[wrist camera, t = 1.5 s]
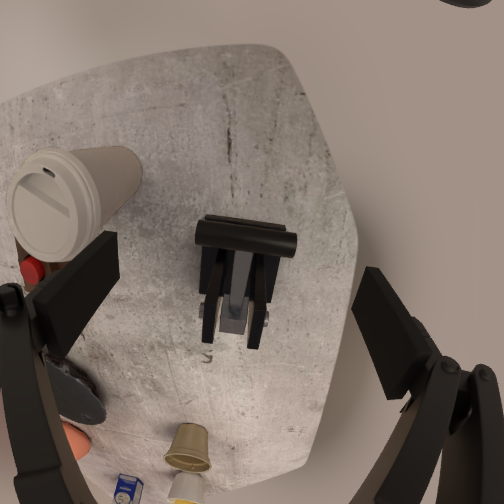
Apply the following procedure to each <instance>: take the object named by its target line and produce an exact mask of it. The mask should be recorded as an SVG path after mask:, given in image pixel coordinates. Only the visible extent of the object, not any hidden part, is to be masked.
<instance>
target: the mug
mask: <svg viewBox="0 0 504 504" xmlns="http://www.w3.org/2000/svg"><path fill="white" fill-rule="evenodd" d="M167 501H168V502H169V503H171V504H204V490H203V479H202V478H201V477H200V475H198V474H197V473H191V472H186V471H182V472H180V473H178V474H177V475H176V476H175V479H174V482H173V485H172V487H171V490H170V492H169V495H168V498H167Z"/></svg>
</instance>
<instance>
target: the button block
mask: <svg viewBox="0 0 504 504" xmlns="http://www.w3.org/2000/svg"><path fill="white" fill-rule="evenodd" d="M15 241H16V246H17V252H18V257H19V258H18V261H19V265H21V263H22V262H23V261H24V260H25V259H26V258H28V257H29V256H32V255H30V254H29V253H28V252H27V251H26V250H25V249H24V248H23V247H22V246H21V245H20V243H19V242H18V241H17V239H16V237H15ZM40 261H41V260H40ZM70 261H71V260H70ZM70 261H65V262H45V261H41V263H42V265H43V266H44V270H45V275H44V277H43V278H42V279H41V280H40V281H39V282H38V283H37V284H35V285H32V284H29V283H28V282H27V281H26V280H25V279H24V278H23V279H24V283H25V287H26V291H28V292H31V291H32V290H33V289H34V288H35V287H37V286H38V284H39V283H40V282H42V280H43V279H44V278H46V277H47V276H48V275H49V274H51V273H52V272H54V271H56V270H62V269H63V268H64V267H65V266H66V265H67V264H68V263H69V262H70Z"/></svg>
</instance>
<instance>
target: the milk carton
mask: <svg viewBox="0 0 504 504" xmlns="http://www.w3.org/2000/svg"><path fill="white" fill-rule="evenodd" d="M143 485H144V484H143V483H142V482H141V481H140V480H139V479H138V478H136V477H132V476H127V475H123V474H120V475H119V479H118V483H117V486H116V490H115V493H114V497H113V501H112V504H139V503H140V498H141V494H142V489H143Z"/></svg>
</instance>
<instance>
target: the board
mask: <svg viewBox="0 0 504 504" xmlns="http://www.w3.org/2000/svg"><path fill="white" fill-rule="evenodd" d="M43 355H44V358H45V363H46V368H47V372H48V376H49V380H50V384H51V388H52V392H53V395H54V399H55V402H56V406H57V409H58V412H59V414H60V415H62V416H64V417H65V418H67V419H70V420H72V421H75V422H78V423H82V424H87V425H97V424H101V423H102V422H104V421H105V420H106V418H107V417H106V414H107V413H106V410H105V408H104V405H103V404H102V402H101V401H100V398H99V396H98V394H97V392H96V388H95V385H94V384H93V383H92V382H91V380H90V379H89V378H88V377H87V375H86V374H85V373H84V372H82V371H80V370H79V369H78V368H77V367H76V366H74V365H73V364H72V363H71V362H69V361H68V360H66V359H63V358H60V357H57V356H54V355H50V354H46V355H45V354H43Z"/></svg>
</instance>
